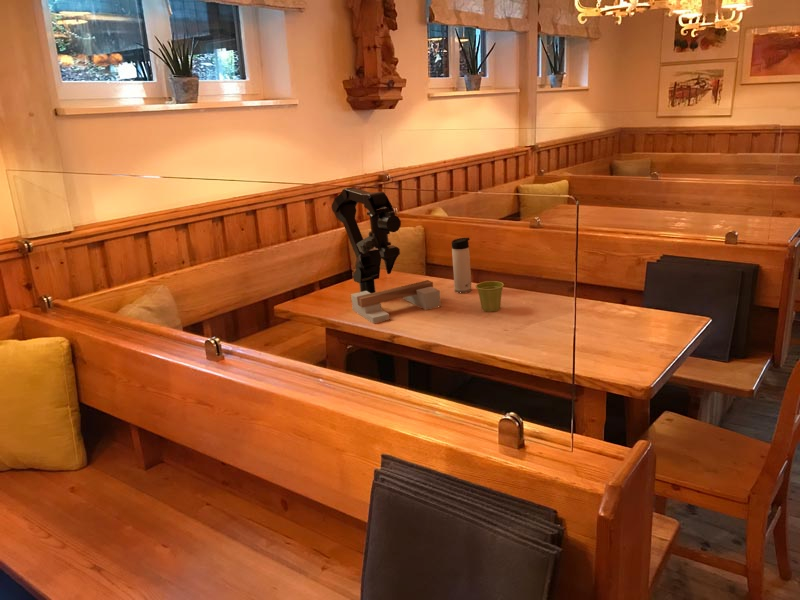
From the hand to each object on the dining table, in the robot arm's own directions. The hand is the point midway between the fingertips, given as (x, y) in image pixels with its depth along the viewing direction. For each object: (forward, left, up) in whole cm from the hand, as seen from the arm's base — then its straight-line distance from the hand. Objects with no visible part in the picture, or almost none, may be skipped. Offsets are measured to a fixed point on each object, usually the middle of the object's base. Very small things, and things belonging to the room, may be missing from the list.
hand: (383, 271), depth 242 cm
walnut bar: (+8, 0, -8) cm, 11 cm away
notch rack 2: (+8, +10, -12) cm, 18 cm away
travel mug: (+7, +28, -12) cm, 32 cm away
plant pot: (+31, +24, -12) cm, 41 cm away
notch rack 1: (+8, -10, -12) cm, 18 cm away
